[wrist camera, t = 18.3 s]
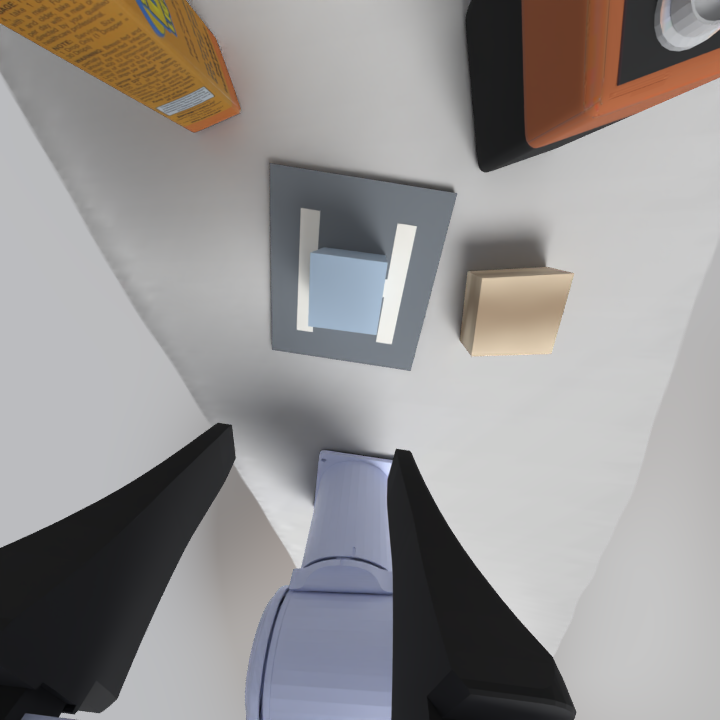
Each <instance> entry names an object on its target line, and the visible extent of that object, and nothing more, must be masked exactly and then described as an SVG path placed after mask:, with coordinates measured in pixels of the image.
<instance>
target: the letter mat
mask: <svg viewBox="0 0 720 720" xmlns="http://www.w3.org/2000/svg"><path fill="white" fill-rule="evenodd" d="M456 196H457V193H452V192H446V191H440V190H433V189H427V188H421V187H415V186H409V185H402V184H396V183H390V182H384V181H378V180H371V179H365V178H359V177H353V176H346V175H340V174H334V173H328V172H322V171H315V170H309V169H303V168H297V167H291V166H284V165H278V164H272V163H270V228H271V309H272V350H277V351H284V352H290V353H297V354H303V355H310V356H317V357H323V358H330V359H336V360H343V361H349V362H356V363H362V364H369V365H376V366H382V367H389V368H395V369H402V370H408V371H411V367H412V363H413V359H414V356H415V352H416V348H417V344H418V340H419V337H420V333H421V329H422V325H423V321H424V318H425V314H426V310H427V306H428V302H429V299H430V295H431V291H432V287H433V283H434V280H435V276H436V272H437V268H438V264H439V261H440V257H441V253H442V249H443V245H444V242H445V238H446V234H447V230H448V226H449V223H450V219H451V215H452V211H453V207H454V204H455V200H456ZM323 247H327V248H335V249H343V250H350V251H358V252H365V253H373V254H381V255H386V258H387V262H388V265H387V271H386V278H385V284H384V291H383V297H382V303H381V310H380V316H379V323H378V329H377V335H372V334H364V333H356V332H349V331H341V330H333V329H326V328H318V327H311V326H308V315H309V281H310V253H311V252H313V251H316V250H318V249H321V248H323Z"/></svg>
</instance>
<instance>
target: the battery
mask: <svg viewBox="0 0 720 720" xmlns="http://www.w3.org/2000/svg"><path fill="white" fill-rule="evenodd" d="M466 31H467V43H468V54H469V65H470V77H471V88H472V99H473V111H474V122H475V133H476V144H477V155H478V164H479V168H480V170H481V171H483V172H490V171H493V170H496V169H498V168H501V167H504V166H507V165H510V164H513V163H516V162H519V161H521V160H524V159H527V158H530V157H533V156H536V155H539V154H542V153H544V152H547V151H550V150H553V149H556V148H558V147H560V146H563V145H565V144H567V143H570V142H572V141H574V140H577V139H579V138H581V137H583V136H586V135H588V134H590V133H593V132H595V131H597V130H600V129H602V128H604V127H606V126H609V125H611V124H613V123H616V122H618V121H620V120H623V119H625V118H627V117H629V116H632V115H634V114H636V113H639V112H641V111H643V110H646V109H648V108H650V107H653V106H655V105H657V104H659V103H662V102H664V101H666V100H669V99H671V98H673V97H676V96H678V95H680V94H682V93H685V92H687V91H689V90H692V89H694V88H696V87H699V86H701V85H703V84H705V83H708V82H710V81H712V80H715V79H717V78H719V77H720V0H471V3H470V5H469V7H468V10H467V14H466Z"/></svg>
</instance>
